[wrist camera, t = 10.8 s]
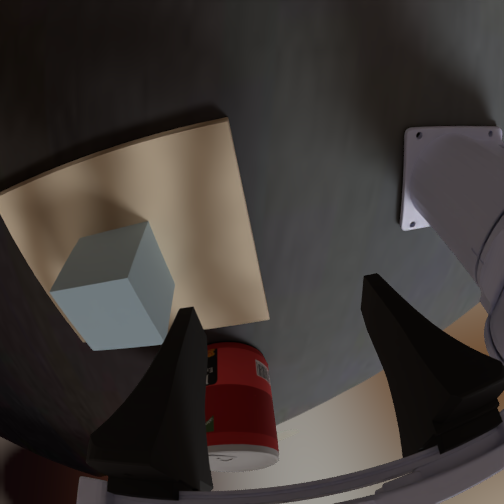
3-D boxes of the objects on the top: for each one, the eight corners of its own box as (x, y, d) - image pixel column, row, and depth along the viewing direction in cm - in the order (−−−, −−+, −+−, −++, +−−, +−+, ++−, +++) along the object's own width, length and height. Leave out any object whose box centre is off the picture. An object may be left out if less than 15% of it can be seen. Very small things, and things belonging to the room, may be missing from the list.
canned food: (199, 332, 28) (196, 447, 19) (280, 347, 30) (296, 452, 21) (182, 373, 32) (179, 468, 23) (252, 383, 34) (260, 473, 25)
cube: (148, 220, 19) (127, 277, 15) (175, 284, 23) (165, 344, 18) (79, 238, 20) (49, 292, 15) (111, 294, 23) (93, 350, 19)
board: (227, 116, 17) (227, 121, 16) (268, 308, 27) (269, 319, 26) (1, 191, 18) (-7, 199, 17) (86, 332, 28) (83, 342, 27)
